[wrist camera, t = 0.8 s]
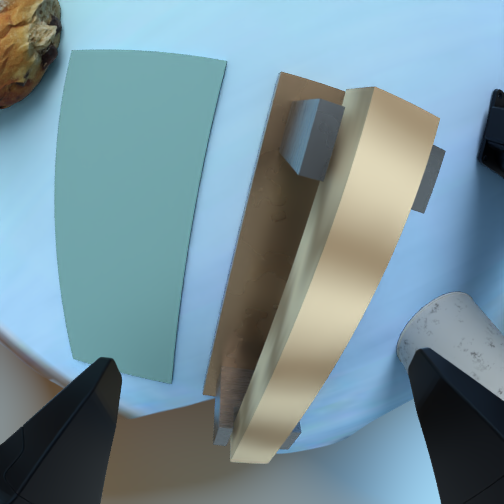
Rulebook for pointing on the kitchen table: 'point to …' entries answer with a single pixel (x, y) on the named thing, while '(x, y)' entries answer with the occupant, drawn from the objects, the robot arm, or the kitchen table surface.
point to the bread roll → (26, 45)
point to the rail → (336, 263)
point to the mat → (129, 199)
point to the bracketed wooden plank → (277, 234)
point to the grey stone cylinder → (457, 339)
